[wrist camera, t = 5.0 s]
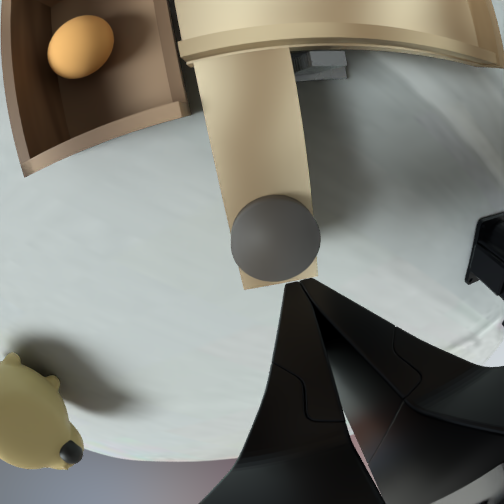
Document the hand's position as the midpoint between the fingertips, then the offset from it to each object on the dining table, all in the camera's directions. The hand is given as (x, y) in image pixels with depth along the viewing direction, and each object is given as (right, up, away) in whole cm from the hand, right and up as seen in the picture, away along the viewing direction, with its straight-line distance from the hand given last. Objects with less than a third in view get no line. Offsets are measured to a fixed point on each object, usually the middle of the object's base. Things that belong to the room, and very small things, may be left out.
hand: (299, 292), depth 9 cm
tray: (-9, +11, +1) cm, 14 cm away
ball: (-9, +10, 0) cm, 14 cm away
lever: (+4, +8, +2) cm, 9 cm away
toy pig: (-22, -11, +12) cm, 28 cm away
